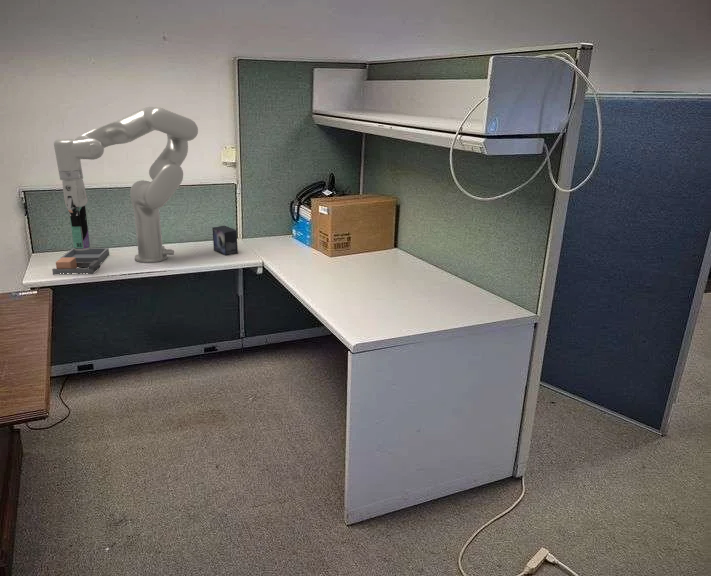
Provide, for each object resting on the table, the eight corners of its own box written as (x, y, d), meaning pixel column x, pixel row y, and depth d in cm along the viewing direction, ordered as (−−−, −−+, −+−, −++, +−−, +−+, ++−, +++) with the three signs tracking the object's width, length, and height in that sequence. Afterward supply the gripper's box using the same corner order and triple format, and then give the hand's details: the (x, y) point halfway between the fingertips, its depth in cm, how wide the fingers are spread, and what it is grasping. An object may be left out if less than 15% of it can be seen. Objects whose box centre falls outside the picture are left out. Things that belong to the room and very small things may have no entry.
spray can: (92, 249, 207) (85, 196, 200) (76, 251, 203) (69, 197, 196) (87, 245, 211) (81, 193, 204) (72, 248, 207) (65, 195, 200)
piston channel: (100, 266, 214) (99, 259, 213) (93, 274, 206) (92, 266, 205) (61, 267, 212) (60, 259, 211) (53, 274, 204) (51, 266, 203)
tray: (109, 254, 229) (108, 248, 228) (99, 264, 216) (98, 257, 215) (73, 255, 227) (72, 248, 226) (61, 265, 214) (60, 257, 213)
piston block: (77, 267, 212) (75, 257, 210) (71, 272, 206) (69, 262, 204) (63, 267, 211) (61, 257, 210) (57, 272, 205) (55, 262, 204)
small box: (212, 250, 240) (211, 227, 237) (225, 248, 244) (224, 225, 241) (225, 256, 233) (223, 231, 229) (238, 253, 237) (237, 229, 234)
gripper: (74, 178, 190) (82, 229, 196) (89, 171, 206) (97, 218, 212) (50, 179, 189) (60, 230, 195) (68, 171, 205) (76, 219, 211)
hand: (79, 223), depth 204 cm, fingers closed on spray can, 5 cm apart
